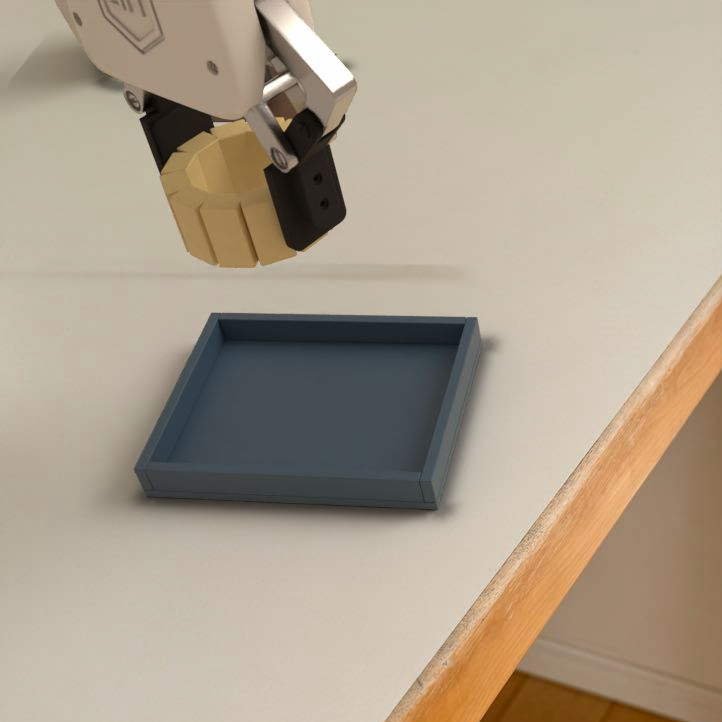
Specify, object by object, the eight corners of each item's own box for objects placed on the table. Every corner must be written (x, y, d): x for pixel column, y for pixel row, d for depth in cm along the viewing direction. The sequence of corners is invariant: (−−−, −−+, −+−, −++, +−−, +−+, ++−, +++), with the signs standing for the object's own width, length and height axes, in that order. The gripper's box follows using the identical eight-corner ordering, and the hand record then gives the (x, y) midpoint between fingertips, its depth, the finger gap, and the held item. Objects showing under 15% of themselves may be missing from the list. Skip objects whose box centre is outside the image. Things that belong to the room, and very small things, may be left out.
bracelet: (160, 268, 55) (136, 209, 53) (212, 175, 60) (192, 118, 57) (316, 269, 54) (299, 209, 51) (357, 174, 58) (342, 115, 56)
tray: (146, 496, 63) (132, 469, 62) (221, 339, 71) (210, 311, 70) (438, 510, 61) (431, 481, 59) (482, 345, 68) (477, 316, 67)
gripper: (-115, -230, 45) (73, 194, 58) (197, -158, 37) (334, 317, 50) (52, -296, 49) (193, 118, 62) (371, -244, 40) (455, 221, 54)
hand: (255, 204), depth 56 cm, fingers closed on bracelet, 7 cm apart
